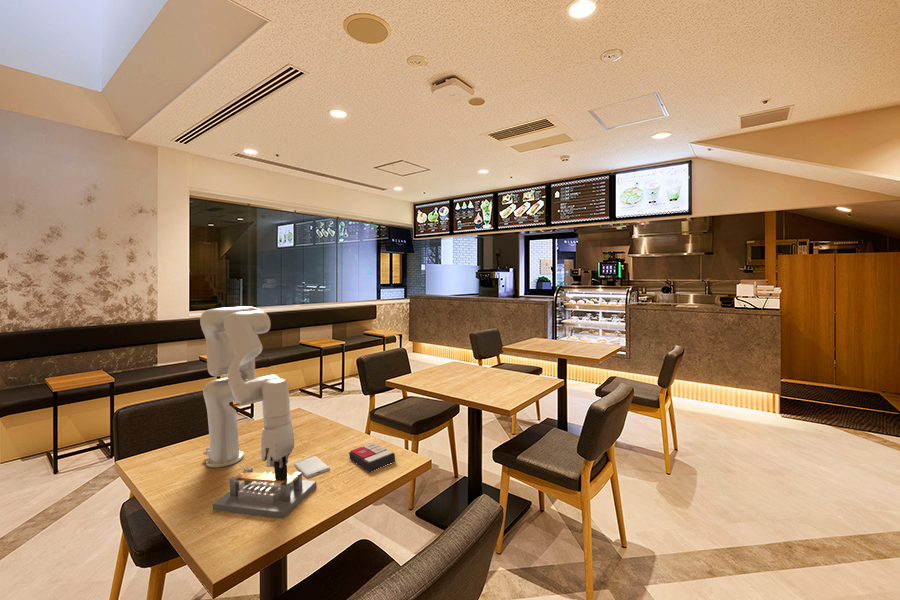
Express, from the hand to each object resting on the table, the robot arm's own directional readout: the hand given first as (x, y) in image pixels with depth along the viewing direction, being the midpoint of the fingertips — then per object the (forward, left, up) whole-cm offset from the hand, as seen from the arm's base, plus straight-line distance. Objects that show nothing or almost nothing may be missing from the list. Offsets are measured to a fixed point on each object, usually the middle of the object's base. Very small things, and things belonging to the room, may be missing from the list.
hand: (281, 478), depth 118 cm
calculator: (+17, +29, -8) cm, 35 cm away
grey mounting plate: (-6, 0, -7) cm, 9 cm away
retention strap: (-6, 0, -1) cm, 6 cm away
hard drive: (-3, +21, -8) cm, 22 cm away
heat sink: (-6, 0, -5) cm, 8 cm away
